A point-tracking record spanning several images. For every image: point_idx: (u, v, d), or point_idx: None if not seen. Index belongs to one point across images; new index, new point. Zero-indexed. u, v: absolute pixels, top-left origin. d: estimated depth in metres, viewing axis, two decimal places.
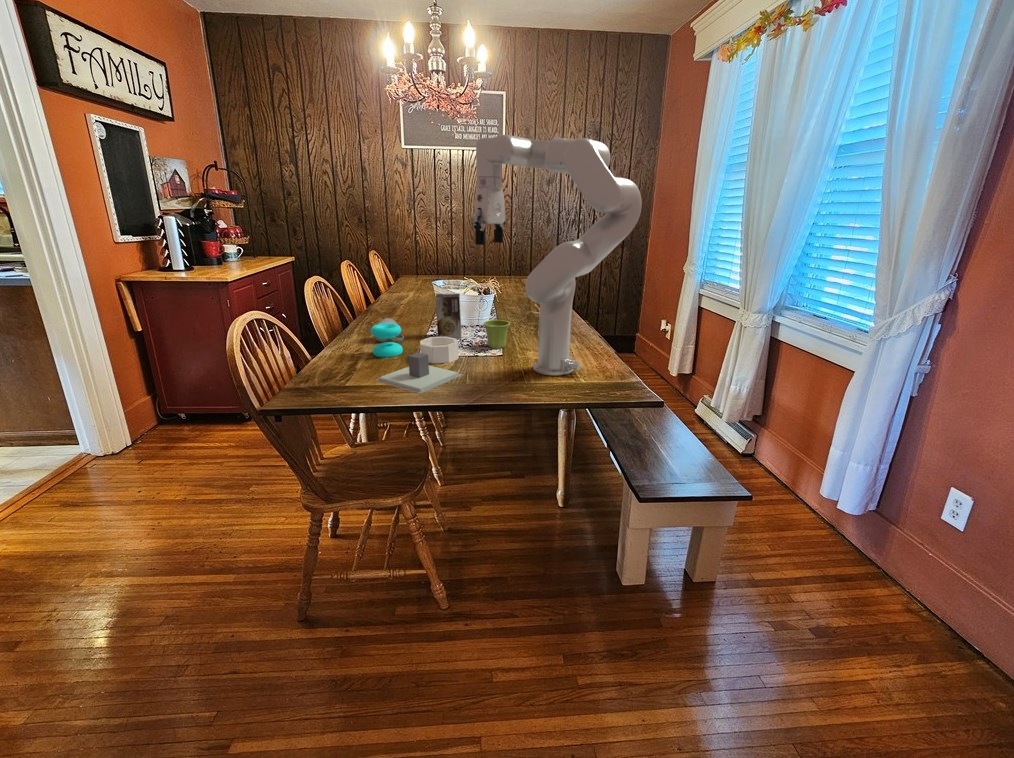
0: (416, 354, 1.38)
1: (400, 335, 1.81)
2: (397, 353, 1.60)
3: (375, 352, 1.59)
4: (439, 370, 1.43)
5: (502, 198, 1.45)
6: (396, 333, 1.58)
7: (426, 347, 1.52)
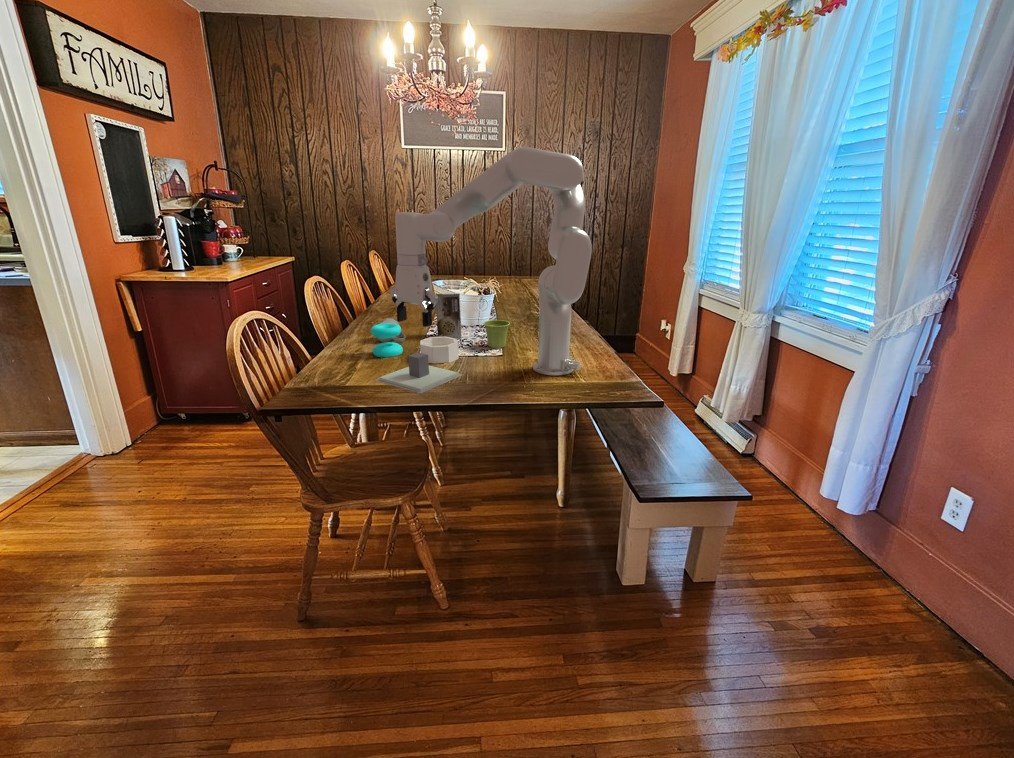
0: (416, 354, 1.38)
1: (402, 335, 1.81)
2: (397, 353, 1.60)
3: (375, 352, 1.59)
4: (439, 370, 1.43)
5: None
6: (396, 333, 1.58)
7: (426, 347, 1.52)
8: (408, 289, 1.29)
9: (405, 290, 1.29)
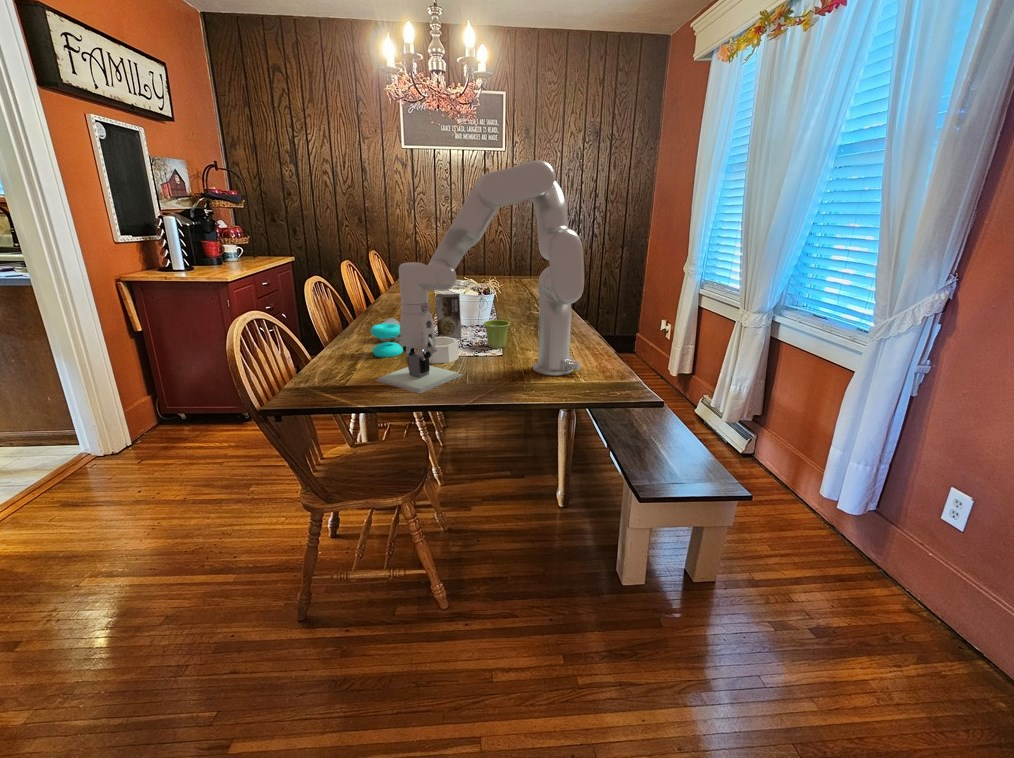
0: (416, 354, 1.38)
1: None
2: (397, 353, 1.60)
3: (375, 352, 1.59)
4: (439, 370, 1.43)
5: None
6: (396, 333, 1.58)
7: None
8: (412, 336, 1.33)
9: (409, 336, 1.34)
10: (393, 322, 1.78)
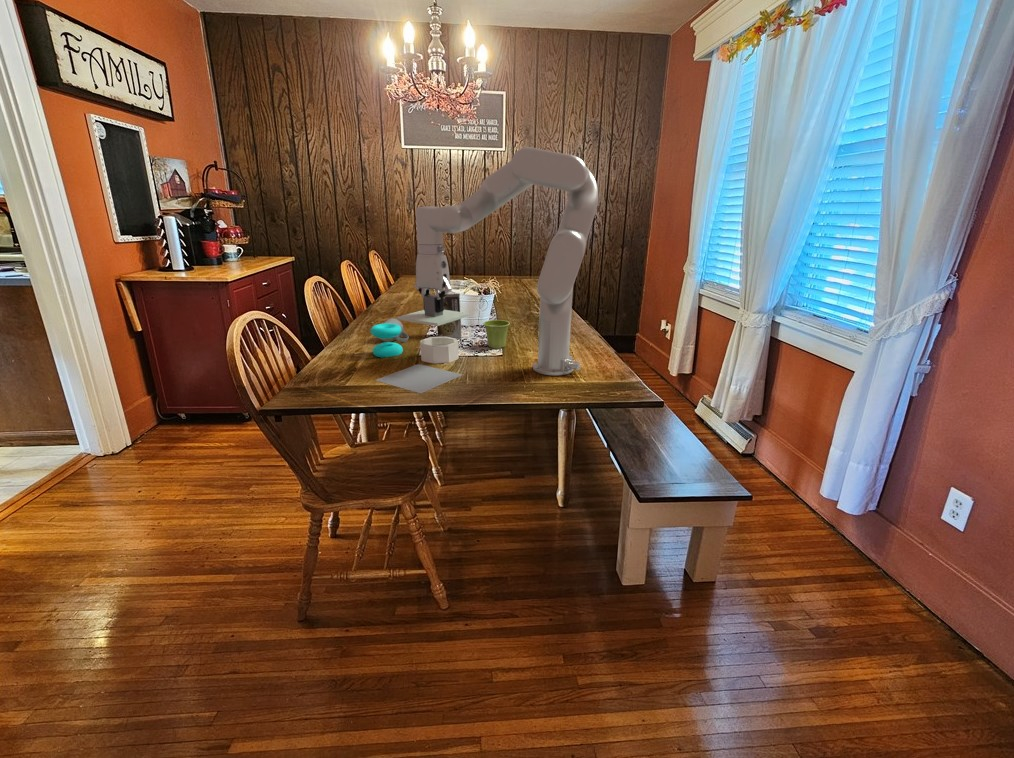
0: (431, 295, 1.48)
1: (405, 335, 1.80)
2: (397, 353, 1.60)
3: (375, 352, 1.59)
4: (452, 312, 1.53)
5: None
6: (396, 333, 1.58)
7: (426, 347, 1.52)
8: (428, 276, 1.43)
9: (425, 277, 1.44)
10: (395, 322, 1.77)
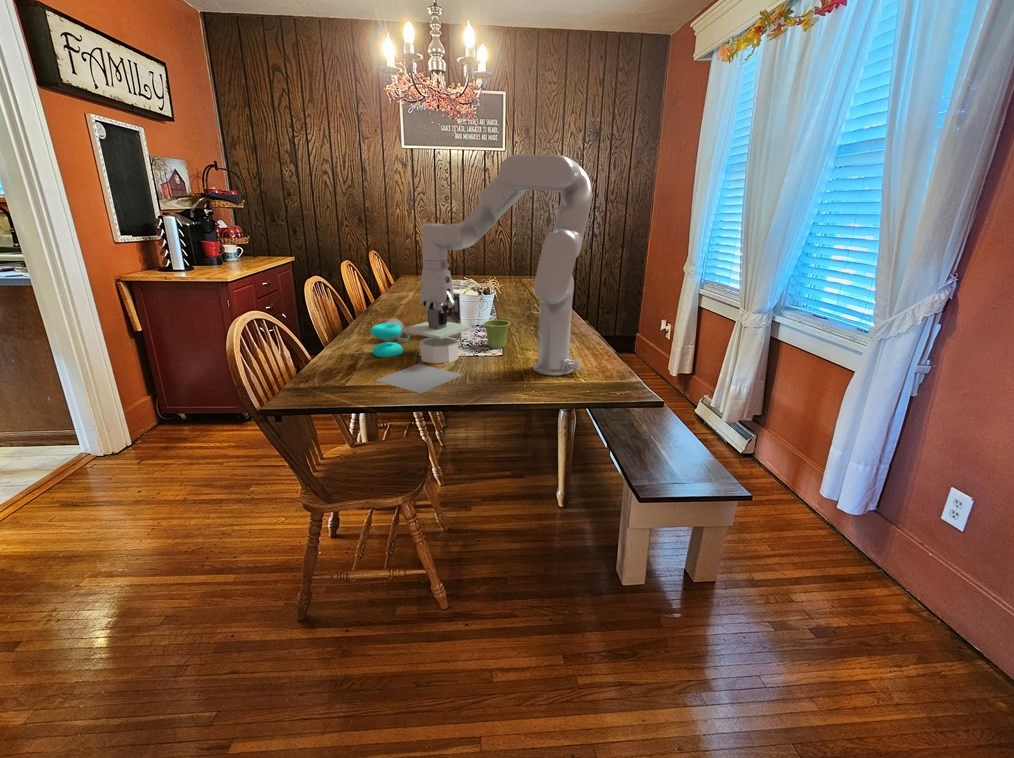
0: (435, 308, 1.53)
1: (406, 335, 1.80)
2: (397, 353, 1.60)
3: (375, 352, 1.59)
4: (455, 324, 1.58)
5: None
6: (396, 333, 1.58)
7: (426, 347, 1.52)
8: (432, 290, 1.48)
9: (429, 291, 1.49)
10: (396, 322, 1.77)
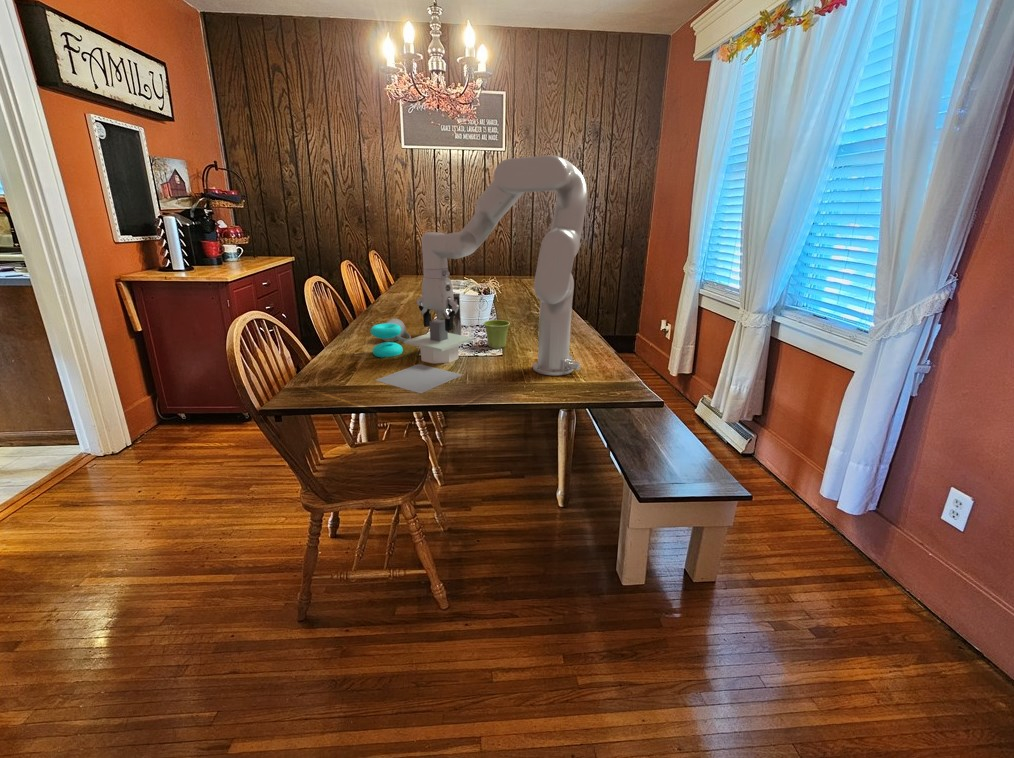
0: (436, 320, 1.54)
1: (407, 335, 1.80)
2: (397, 353, 1.60)
3: (375, 352, 1.59)
4: (456, 336, 1.60)
5: None
6: (396, 333, 1.58)
7: None
8: (433, 298, 1.49)
9: (430, 299, 1.50)
10: (397, 322, 1.77)
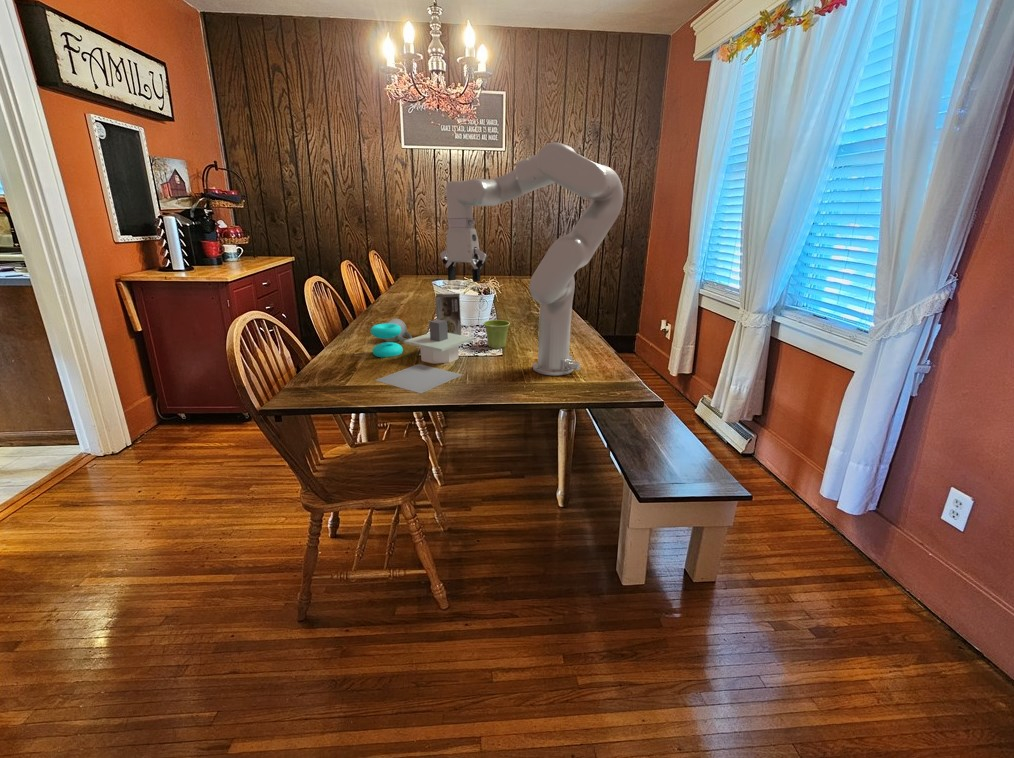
0: (436, 320, 1.54)
1: (408, 335, 1.80)
2: (397, 353, 1.60)
3: (375, 352, 1.59)
4: (456, 336, 1.60)
5: None
6: (396, 333, 1.58)
7: None
8: (459, 249, 1.47)
9: (456, 250, 1.48)
10: (398, 322, 1.77)
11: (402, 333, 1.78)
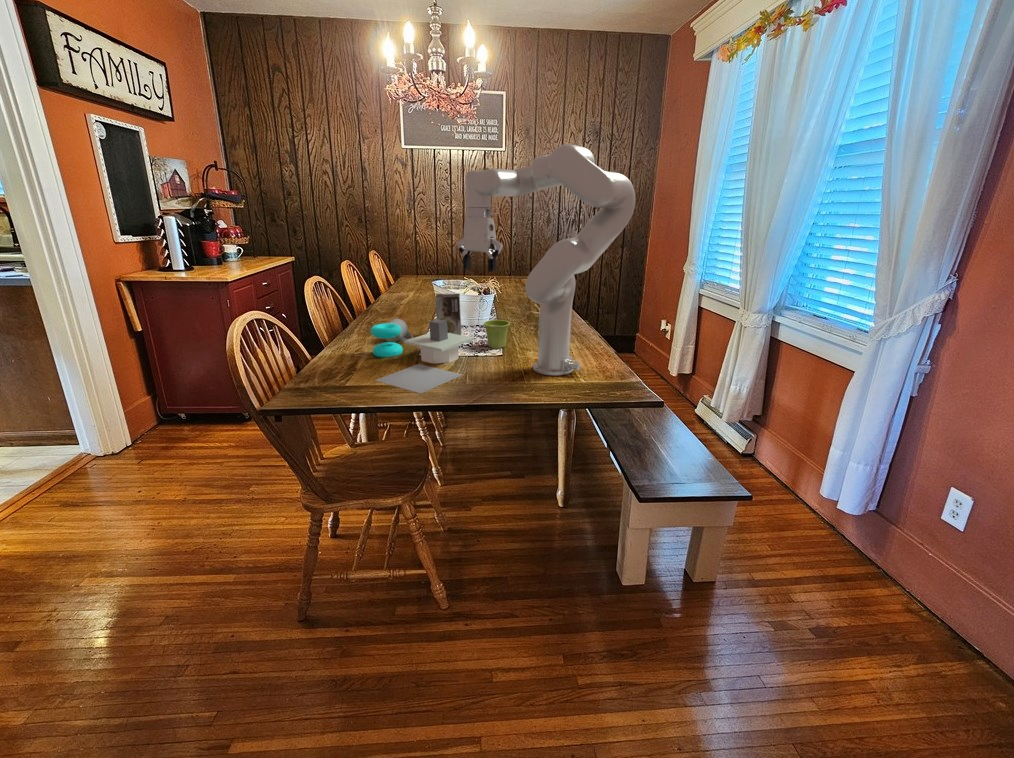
0: (436, 320, 1.54)
1: (409, 335, 1.80)
2: (397, 353, 1.60)
3: (375, 352, 1.59)
4: (456, 336, 1.60)
5: None
6: (396, 333, 1.58)
7: None
8: (476, 238, 1.48)
9: (473, 240, 1.49)
10: (399, 322, 1.77)
11: (403, 333, 1.77)
